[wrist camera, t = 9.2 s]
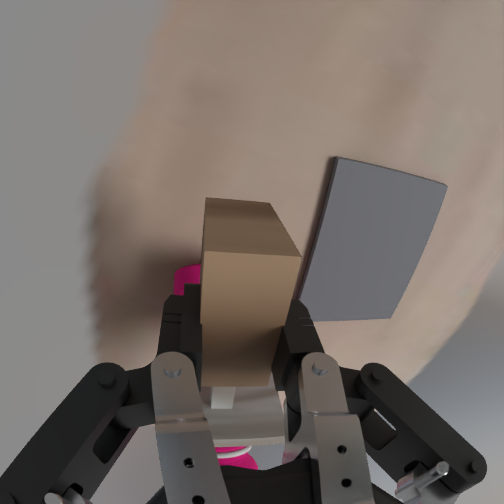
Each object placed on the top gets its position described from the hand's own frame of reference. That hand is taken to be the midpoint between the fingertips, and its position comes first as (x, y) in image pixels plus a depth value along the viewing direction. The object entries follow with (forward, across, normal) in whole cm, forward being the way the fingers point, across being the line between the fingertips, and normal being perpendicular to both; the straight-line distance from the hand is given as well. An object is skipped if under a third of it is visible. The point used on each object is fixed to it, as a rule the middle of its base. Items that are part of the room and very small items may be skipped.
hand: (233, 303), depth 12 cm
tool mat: (+11, -14, +3) cm, 18 cm away
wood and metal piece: (+2, 0, +3) cm, 4 cm away
